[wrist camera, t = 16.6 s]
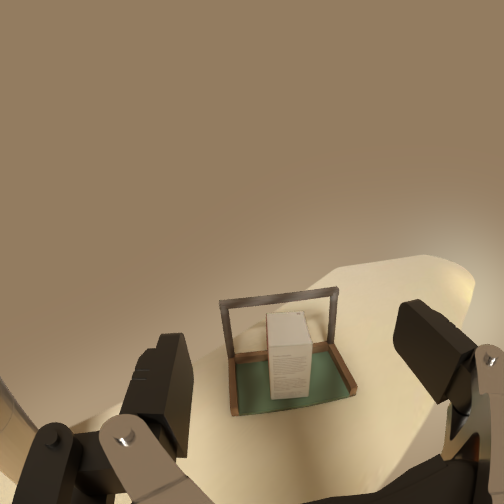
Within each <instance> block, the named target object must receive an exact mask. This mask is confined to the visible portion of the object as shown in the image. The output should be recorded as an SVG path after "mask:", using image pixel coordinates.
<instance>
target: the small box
mask: <svg viewBox="0 0 504 504" xmlns="http://www.w3.org/2000/svg"><path fill="white" fill-rule="evenodd" d="M266 329H267V352H268V365H269V379H270V396H271V400H275V399H288V398H300V397H308V396H309V385H310V373H311V361H312V347H313V343H312V340H311V337H310V334H309V330H308V326H307V323H306V319H305V314H304V311H294V312H280V313H267V314H266Z"/></svg>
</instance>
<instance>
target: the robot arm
mask: <svg viewBox="0 0 504 504" xmlns="http://www.w3.org/2000/svg"><path fill="white" fill-rule="evenodd" d="M393 344H394V347H395V349H396V351H397V352H398V354H399V355H400V356H401V357H402V359H403V360H404V361H405V362H406V364H407V365H408V366H409V368H410V369H411V370H412V371H413V373H414V374H415V375H416V377H417V378H418V379H419V381H420V382H421V383H422V385H423V386H424V387H425V389H426V390H427V391H428V393H429V394H430V395H431V397H432V398H433V399H434V401H435V402H436V403H437V404H440V403H441V402H444V401H446V400H448V399H449V400H450V401H451V402H450V404H449V406H448V409H447V421H446V431H445V439H444V446H443V450H442V453H441V454H438V455H436V456H435V457H433V458H431V459H429V460H428V461H425V462H423V463H421V464H419V465H417V466H415V467H413V468H411V469H409V470H408V471H406V472H405V473H404V474H403V475H401V476H400V477H398V478H397V479H395V480H394V481H393V482H391V483H390V484H388V485H387V486H386V487H384V488H382V489H381V490H379V491H377V492H375V493H369V494H361V495H351V496H339V497H329V498H325V499H321V500H317V501H312V502H307V503H302V504H504V352H503V351H502V350H501V349H500V348H498V347H496V346H494V345H490V344H485V345H481V346H479V347H478V346H477V345H476V344H475V343H474V342H473V341H472V340H471V339H470V338H468V337H467V336H466V335H465V334H464V333H463V332H462V331H461V330H460V329H458V328H456V326H455V325H454V324H453V323H452V322H449V320H448V319H447V318H446V317H445V316H443V315H442V314H441V313H439V312H437V311H435V310H432V309H431V308H430V307H429V306H427V305H426V304H425V303H424V302H423V301H421V300H420V299H416V300H412V301H408V302H403V303H402V304H401V305H400V307H399V311H398V316H397V321H396V325H395V330H394V334H393ZM193 383H194V377H193V368H192V364H191V360H190V357H189V353H188V350H187V345H186V341H185V338H184V335H183V333H170V334H161V335H160V337H159V340H158V343H157V346H156V348H152V349H147V350H146V351H145V352H144V353H143V354H142V355H141V356H140V357H139V359H138V362H137V364H136V367H135V371H134V373H133V375H132V380H131V381H130V384H129V387H128V390H127V393H126V395H125V398H124V401H123V404H122V407H121V410H120V413H119V415H117V416H114V417H112V418H110V419H108V420H107V421H106V422H105V423H104V424H103V425H102V427H101V429H100V431H95V432H88V433H79V434H73V433H72V431H71V430H70V429H69V428H68V427H67V426H66V425H64V424H62V423H57V422H56V423H49V424H46V425H45V426H43V427H41V428H40V429H39V430H38V429H37V427H36V426H35V425H34V423H33V422H32V421H31V420H30V418H29V417H28V416H27V415H26V413H25V412H24V410H23V409H22V408H21V406H20V405H19V404H18V402H17V401H16V399H15V398H14V396H13V395H12V394H11V392H10V391H9V389H8V388H7V386H6V385H5V383H4V381H3V380H2V379H1V377H0V471H1V472H2V473H3V474H5V475H6V476H7V477H8V478H9V479H10V480H12V481H13V482H14V483H15V484H16V485H17V488H16V491H15V494H14V498H13V502H12V504H114V501H115V494H118V493H128V495H129V497H130V498H131V500H132V503H131V504H214V503H213V502H212V501H211V500H210V499H209V498H208V497H207V495H206V494H205V493H204V492H203V491H202V490H201V489H200V488H199V487H198V486H197V485H196V484H195V483H194V482H193V481H192V480H191V479H190V478H189V477H188V476H186V475H185V474H184V473H183V471H182V470H181V469H180V468H179V467H178V466H177V464H176V458H187V450H188V437H189V425H190V413H191V403H192V393H193Z"/></svg>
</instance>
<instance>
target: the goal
mask: <svg viewBox="0 0 504 504" xmlns="http://www.w3.org/2000/svg"><path fill="white" fill-rule="evenodd" d="M338 295H339V288H338V287H337V286H336V287H329V288H322V289H315V290H307V291H300V292H292V293H284V294H275V295H267V296H258V297H248V298H239V299H229V300H219V306H220V310H221V318H222V324H223V331H224V337H225V343H226V349H227V355H228V362H229V393H230V410H231V414H232V416H241V415H252V414H260V413H269V412H276V411H283V410H289V409H295V408H301V407H306V406H311V405H316V404H321V403H326V402H330V401H335V400H339V399H343V398H347V397H351V396H355V395H356V391H357V387H358V386H357V384H356V383H355V381H354V379H353V377H352V375H351V373H350V371H349V370H348V368H347V366H346V364H345V362H344V360H343V359H342V357H341V355H340V353H339V351H338V350H337V348H336V346H335V344H334V336H335V325H336V314H337V300H338ZM328 296H330V309H329V324H328V337H327V341H325V342H319V343H313V347H312V361H311V373H310V385H309V396H308V397H300V398H288V399H275V400H271V396H270V379H269V365H268V352H267V350H265V351H257V352H248V353H238V354H235V353H234V346H233V339H232V332H231V325H230V318H229V311H228V309H231V308H240V307H250V306H259V305H268V304H277V303H285V302H292V301H300V300H307V299H314V298H321V297H328Z"/></svg>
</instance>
